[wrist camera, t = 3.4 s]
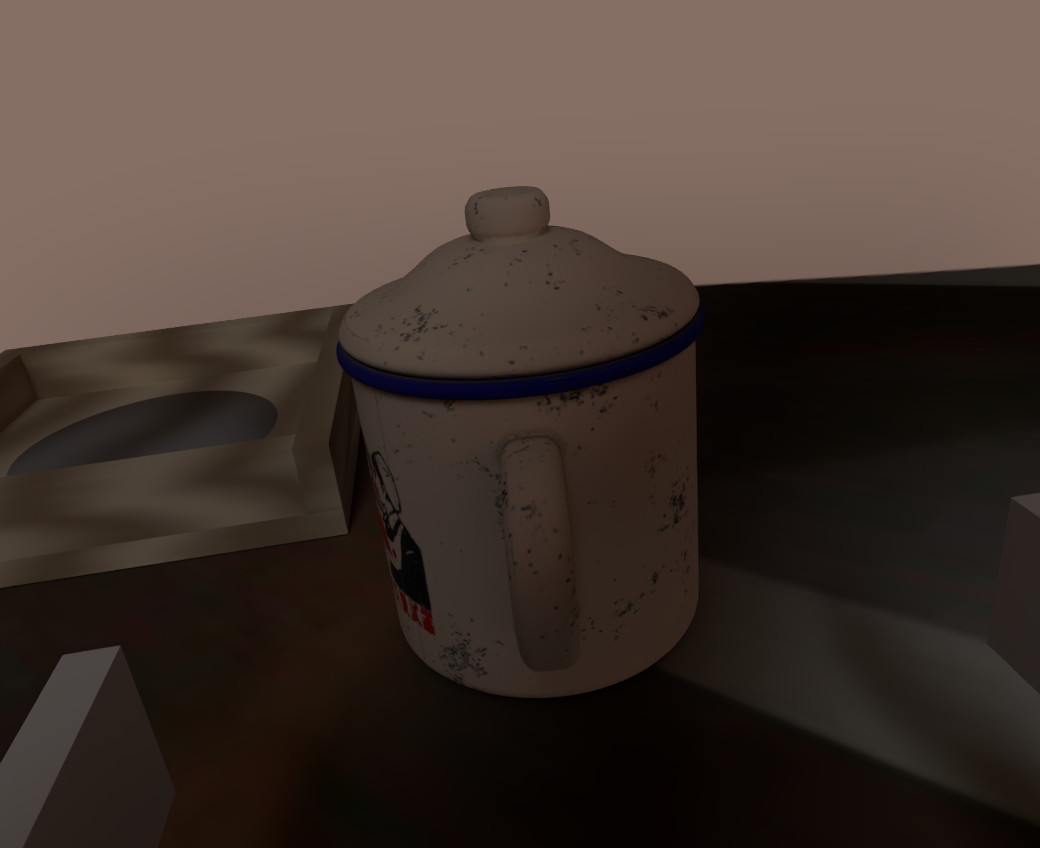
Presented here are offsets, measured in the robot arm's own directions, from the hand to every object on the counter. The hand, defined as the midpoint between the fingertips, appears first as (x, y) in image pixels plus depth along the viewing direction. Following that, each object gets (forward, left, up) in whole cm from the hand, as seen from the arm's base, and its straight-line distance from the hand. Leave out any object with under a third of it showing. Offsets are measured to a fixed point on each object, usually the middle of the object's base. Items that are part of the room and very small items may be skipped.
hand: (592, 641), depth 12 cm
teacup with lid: (0, -9, -7) cm, 11 cm away
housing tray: (+15, -25, -6) cm, 29 cm away
